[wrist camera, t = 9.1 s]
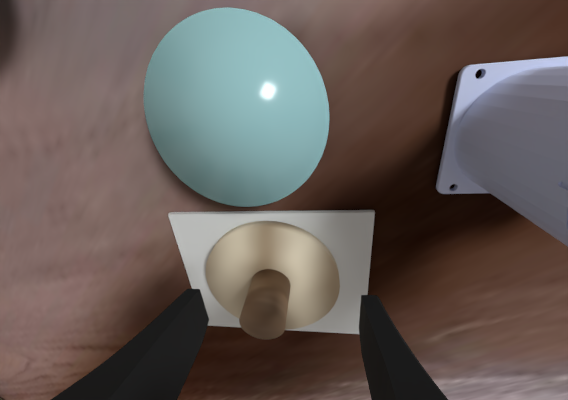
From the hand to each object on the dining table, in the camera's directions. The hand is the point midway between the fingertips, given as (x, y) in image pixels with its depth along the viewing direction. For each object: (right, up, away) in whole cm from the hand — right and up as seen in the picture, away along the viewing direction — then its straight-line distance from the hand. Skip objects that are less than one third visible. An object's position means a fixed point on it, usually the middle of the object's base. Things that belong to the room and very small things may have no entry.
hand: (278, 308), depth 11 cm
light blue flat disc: (-2, +11, +6) cm, 12 cm away
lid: (-1, -2, +12) cm, 12 cm away
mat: (-1, -2, +12) cm, 13 cm away
